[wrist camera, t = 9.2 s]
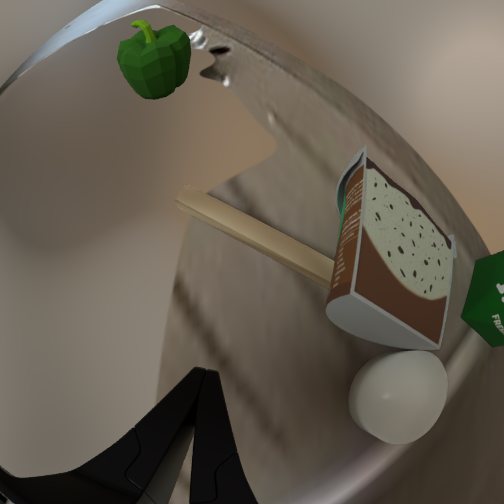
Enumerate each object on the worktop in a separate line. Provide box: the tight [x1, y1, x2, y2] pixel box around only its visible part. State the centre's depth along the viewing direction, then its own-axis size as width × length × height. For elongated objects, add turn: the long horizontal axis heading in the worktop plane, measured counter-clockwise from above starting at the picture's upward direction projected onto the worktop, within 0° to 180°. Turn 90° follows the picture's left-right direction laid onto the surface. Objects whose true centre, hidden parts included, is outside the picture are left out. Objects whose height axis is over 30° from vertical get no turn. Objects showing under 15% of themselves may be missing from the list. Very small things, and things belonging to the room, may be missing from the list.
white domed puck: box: [348, 350, 448, 445], centre depth 16 cm, size 7×7×4 cm
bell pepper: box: [117, 20, 191, 100], centre depth 23 cm, size 8×8×10 cm
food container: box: [325, 145, 457, 350], centre depth 18 cm, size 12×6×10 cm
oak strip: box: [175, 184, 335, 289], centre depth 21 cm, size 2×16×2 cm, turn 61°
